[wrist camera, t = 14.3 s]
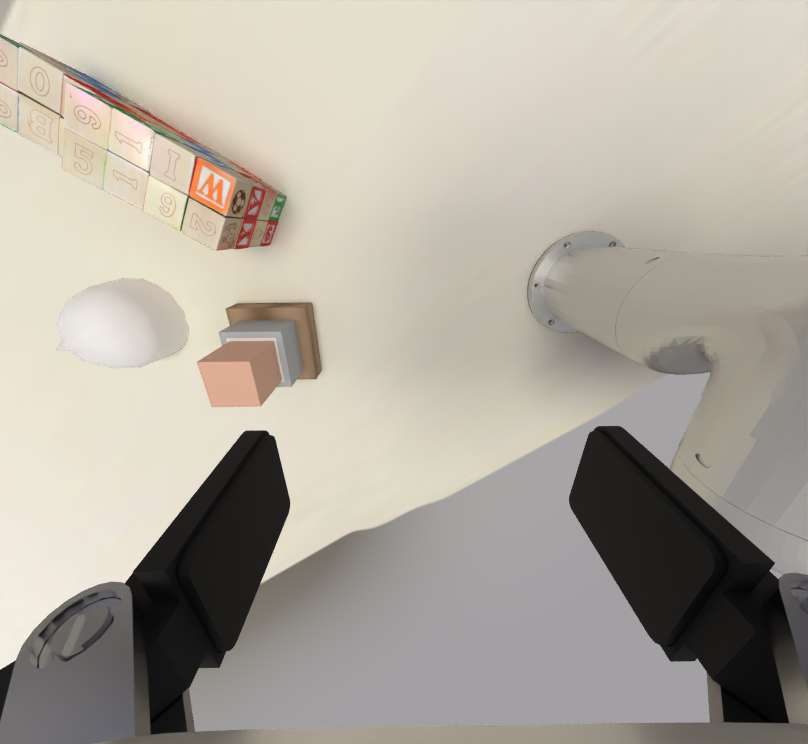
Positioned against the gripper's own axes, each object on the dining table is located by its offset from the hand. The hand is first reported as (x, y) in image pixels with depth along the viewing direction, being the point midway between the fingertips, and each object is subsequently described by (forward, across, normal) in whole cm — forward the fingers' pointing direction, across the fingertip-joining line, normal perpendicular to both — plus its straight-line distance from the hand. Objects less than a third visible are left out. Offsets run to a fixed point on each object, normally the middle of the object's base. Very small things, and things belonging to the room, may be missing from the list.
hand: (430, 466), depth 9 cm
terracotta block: (+25, +18, +7) cm, 32 cm away
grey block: (+30, +18, +7) cm, 36 cm away
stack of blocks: (+34, +25, -13) cm, 44 cm away
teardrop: (+34, +36, +4) cm, 49 cm away
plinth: (+33, +18, +7) cm, 38 cm away
